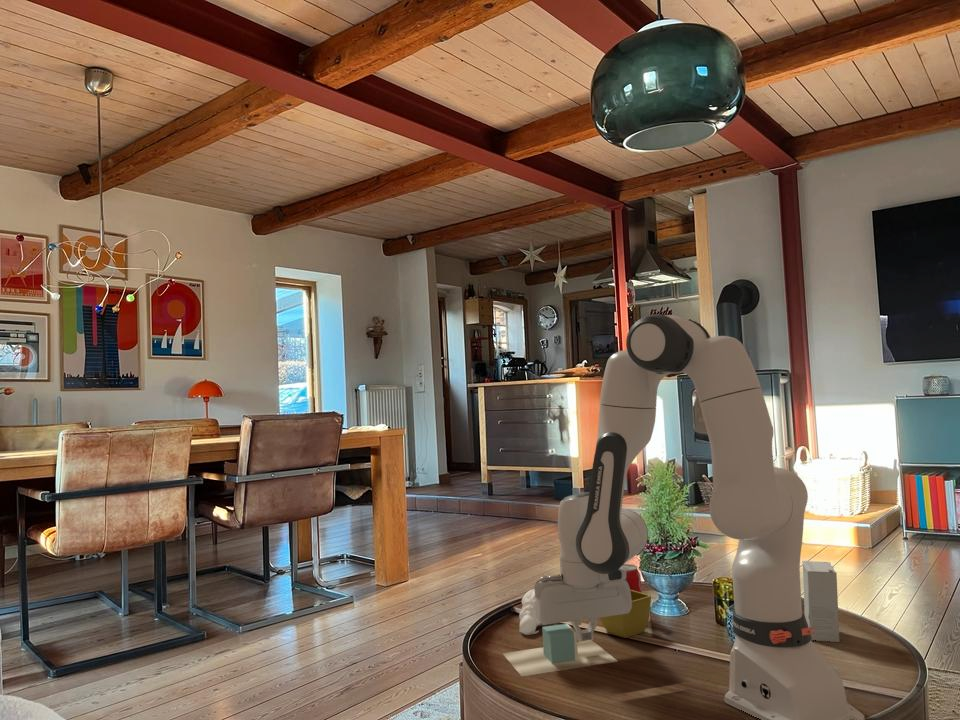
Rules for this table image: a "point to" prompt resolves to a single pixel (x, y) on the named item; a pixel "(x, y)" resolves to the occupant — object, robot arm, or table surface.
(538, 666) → the birch board
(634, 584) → the soda can
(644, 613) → the flower pot
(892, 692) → the table surface
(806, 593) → the skincare box
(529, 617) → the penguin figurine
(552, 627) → the teal block
